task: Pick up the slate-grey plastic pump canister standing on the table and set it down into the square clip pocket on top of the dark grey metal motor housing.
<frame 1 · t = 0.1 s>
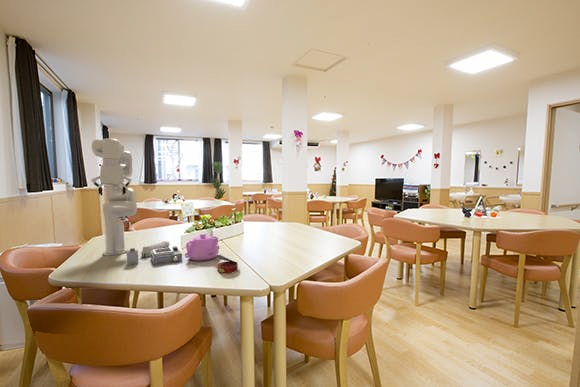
hand: (112, 195, 135), 37 cm above the table, tool pointing down, fingers open, 9 cm apart
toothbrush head: (155, 252, 160), on the table
canned food: (227, 270, 127), on the table
teapot: (205, 258, 146), on the table
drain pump: (132, 263, 136), on the table
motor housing: (166, 259, 144), on the table
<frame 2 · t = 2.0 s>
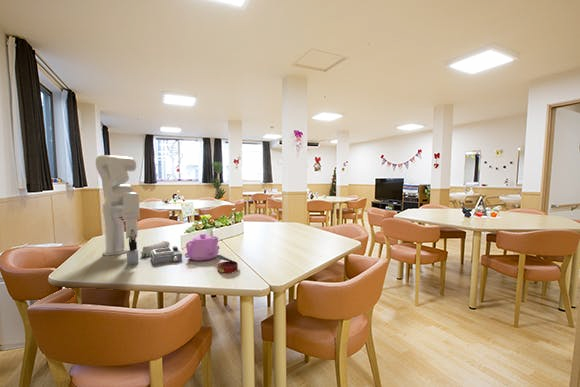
hand: (132, 248, 135), 9 cm above the table, tool pointing down, fingers open, 9 cm apart
nothing on the table moved.
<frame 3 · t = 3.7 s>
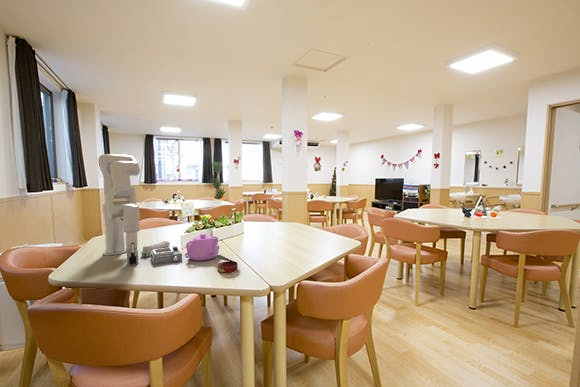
hand: (132, 261, 136), 1 cm above the table, tool pointing down, fingers closed on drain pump, 5 cm apart
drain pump: (132, 263, 136), on the table, touching gripper
everything else where it was.
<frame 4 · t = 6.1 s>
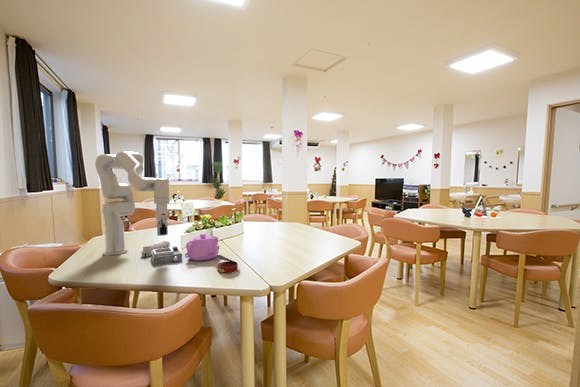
hand: (162, 232, 142), 15 cm above the table, tool pointing down, fingers closed on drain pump, 5 cm apart
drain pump: (162, 234, 142), point 14 cm above the table, touching gripper
everything else where it was.
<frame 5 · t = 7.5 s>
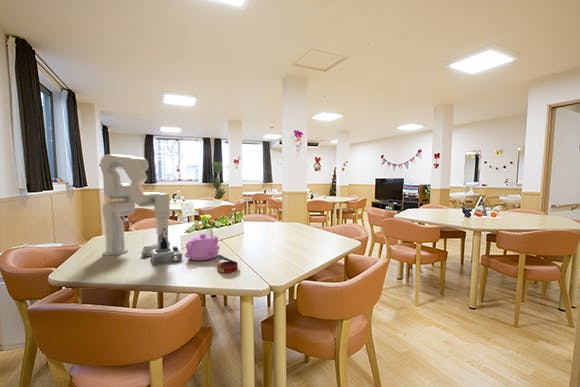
hand: (163, 247, 142), 7 cm above the table, tool pointing down, fingers closed on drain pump, 5 cm apart
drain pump: (163, 249, 142), point 6 cm above the table, touching gripper
everything else where it was.
when the fingers open (6 cm above the table, at t = 8.5 s): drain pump drops 1 cm, resting on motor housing.
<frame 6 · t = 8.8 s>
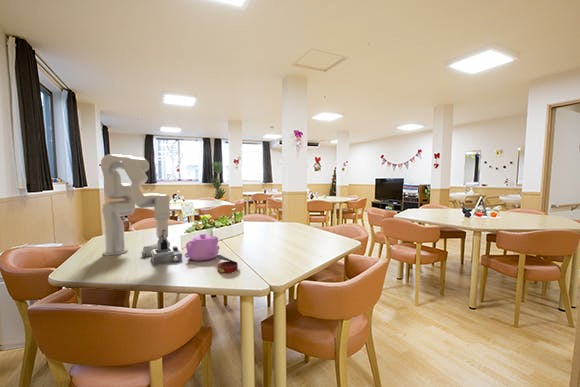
hand: (163, 247, 142), 7 cm above the table, tool pointing down, fingers open, 8 cm apart
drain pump: (163, 253, 142), point 4 cm above the table, touching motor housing
everything else where it was.
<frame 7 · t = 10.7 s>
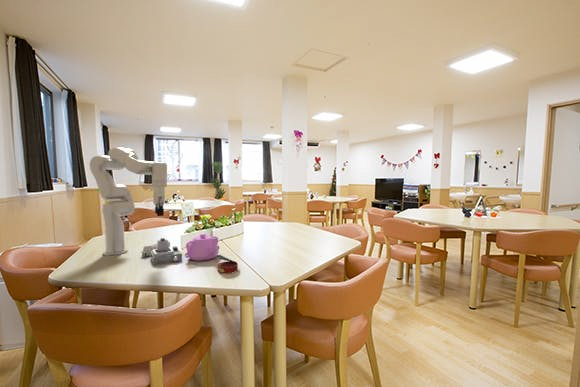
hand: (159, 214, 144), 25 cm above the table, tool pointing down, fingers open, 9 cm apart
nothing on the table moved.
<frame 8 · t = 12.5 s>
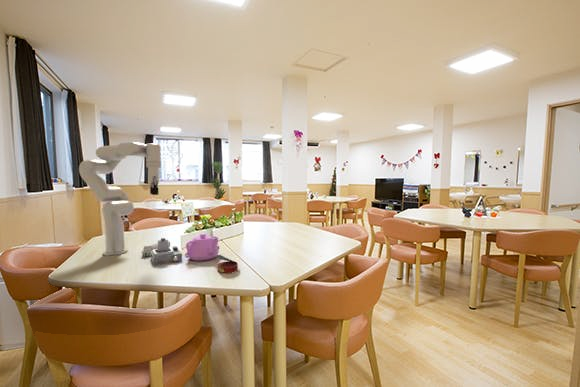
hand: (154, 194, 150), 36 cm above the table, tool pointing down, fingers open, 9 cm apart
at the end: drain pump 0.1 cm from the target spot on the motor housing, point 4.1 cm above the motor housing's base; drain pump tilted 1°; the gripper is holding nothing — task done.
